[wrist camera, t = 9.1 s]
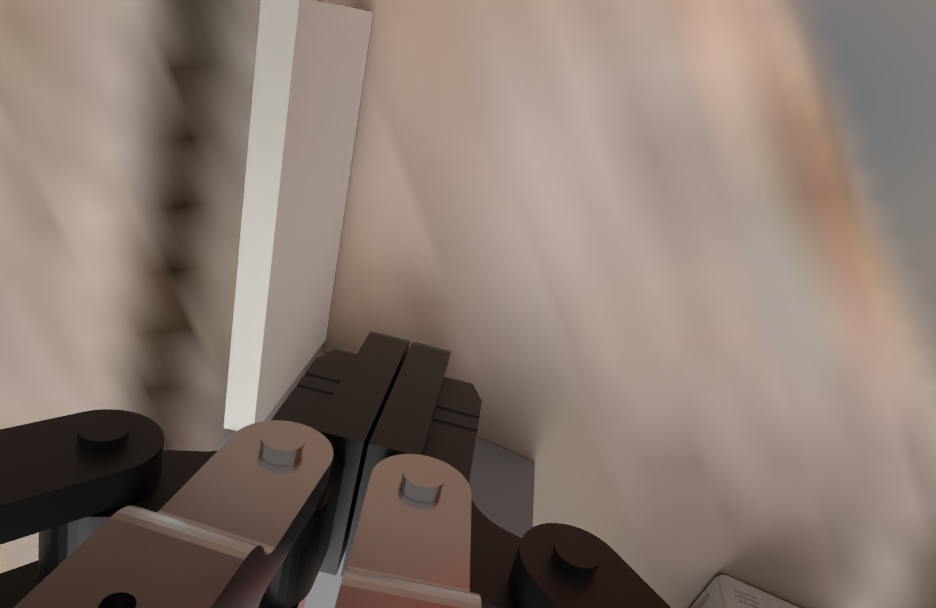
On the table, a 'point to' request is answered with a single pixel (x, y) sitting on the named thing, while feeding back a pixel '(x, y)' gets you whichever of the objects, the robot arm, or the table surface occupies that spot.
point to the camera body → (494, 493)
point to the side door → (293, 198)
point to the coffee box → (736, 596)
